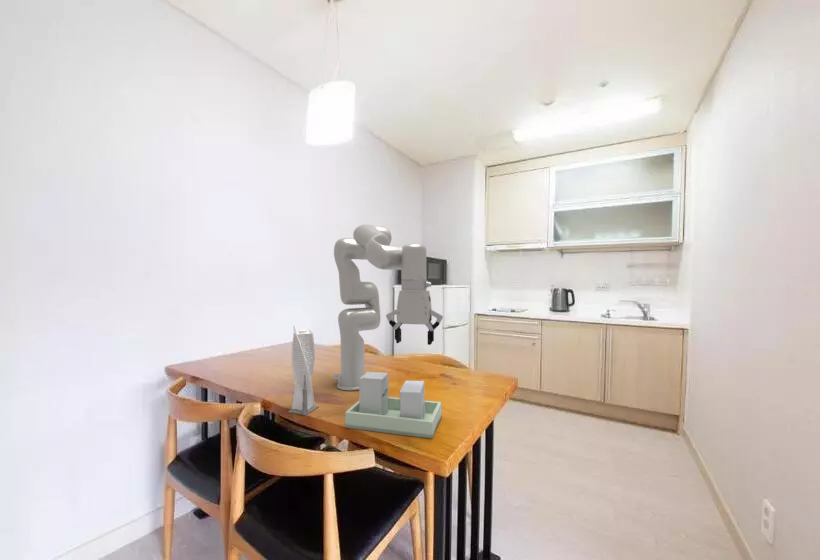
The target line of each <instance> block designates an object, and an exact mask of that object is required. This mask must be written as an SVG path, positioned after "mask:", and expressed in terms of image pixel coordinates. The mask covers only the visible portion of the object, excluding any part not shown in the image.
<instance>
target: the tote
mask: <svg viewBox="0 0 820 560" xmlns="http://www.w3.org/2000/svg"><path fill="white" fill-rule="evenodd" d="M442 404H443V403H442V401H434V400H425V416H424V420H422V419H413V418H404V417H400V397H393V396H388V412H387V413H386V415H377V414H369V413H360V412H359V400H358V401H356V402H355V403H354V404H353V405H352V406H350V407H349V409H347V410H346V411H345V412H344V428H345V429H352V430H353V429H354V430H360V431H368V432H369V431H370V432H375V433H377V432H378V433H385V434H393V435H399V436H406V437H407V436H408V437H416V438H424V439H430V440H431V439H434V436H435V433H436V431H437V429H438V426H439V425H440V421H441V419H442V415H443V414H442V413H443V412H442V410H443V409H442V407H443V405H442Z"/></svg>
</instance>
